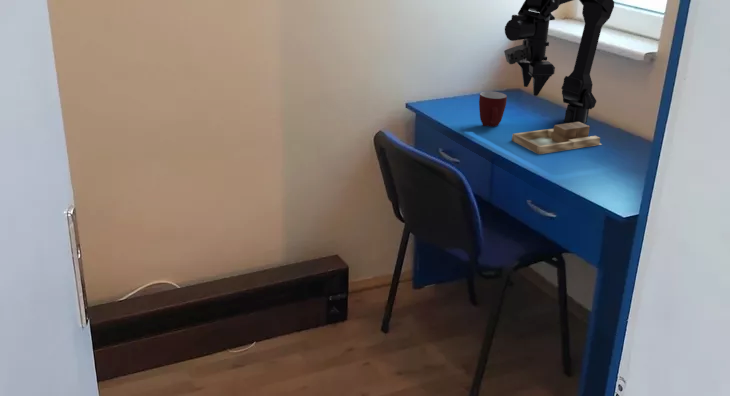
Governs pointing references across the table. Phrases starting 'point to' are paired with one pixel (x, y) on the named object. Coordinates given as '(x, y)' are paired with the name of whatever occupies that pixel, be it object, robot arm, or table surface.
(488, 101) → the mug
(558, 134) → the brown wooden cube
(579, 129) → the brown cube
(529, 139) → the slot board
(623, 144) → the table surface
